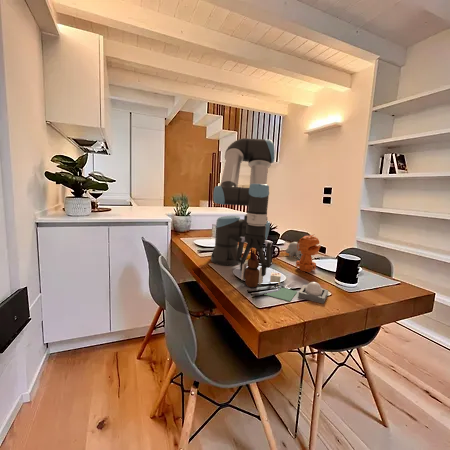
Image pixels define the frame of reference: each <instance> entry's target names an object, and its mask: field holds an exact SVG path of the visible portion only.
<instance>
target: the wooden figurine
mask: <svg viewBox="0 0 450 450" xmlns="http://www.w3.org/2000/svg"><path fill="white" fill-rule="evenodd" d="M257 258H258V257H257V256H256V253H255V250H253V248H251V249H250V257H249V258H248V260H247V261H246V263H247V268H246V271H245V279H244V282H245V285H246V286H247V287H248V288H256V287H258V285H259V284H258V283H259V270H260V269H259V268H260V259H257Z"/></svg>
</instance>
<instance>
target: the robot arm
mask: <svg viewBox="0 0 450 450" xmlns="http://www.w3.org/2000/svg"><path fill="white" fill-rule="evenodd" d="M224 160H225V163H224V167H223V171H222V177H221V179H220V180H221V181H220V184H219V185H215V186H214V189H213V194H212V195H213V197H212V198H213V203H215V204H219V205H224V206H225V205H228V206H243V207H247V212H246V214H245V215H244V217H243V219H242V218H241V217H240V216H239V215H226V216H225V215H224V216H220V217H218V218H217V219H216V224H215V243H214V247H213V251H212V253H211V255H210V261H211V262H212V263H214V264H215V265H220V266H235V265H238V264H239V265H240V266H239V271H240V272H241V275H240V276H241V278H240V279H241V280H240V281H245V271H246V268H247V267H248V266H247V261H246V260H247V258H248V256H249V254H250V253H251V248H252V249H256V251H257V254H258V258H259V263H260V265H261V266H260V267H259V269H258V270H259V283H258V285H262V283H264V277H265V276H266V274H267V269H268V268H270V267H271V266H272V247H273V243H274V242H273V241H271V240H268V236H269V232H270V227H271V221H269V220H268V206H269V196H270V186H269V184H267V183H268V169H269V168H270V167H272V164H273V163H274V162H275V145H274V142H273V140H272V139H266V138H246V137H244V138H239V139H237V140H235V141H233V142H231V144H230V145H229V146H228V147H227V148H226V150H225V153H224ZM242 162H245V163H246V162H248V166H249V167H250V176H249V177H250V178H249V187H240V186H239V180H240V171H241V164H242ZM238 186H239V187H238ZM244 244H246V246H245V250H244ZM263 245H265V253H264V246H263Z"/></svg>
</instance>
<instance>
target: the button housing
mask: <svg viewBox="0 0 450 450" xmlns="http://www.w3.org/2000/svg"><path fill="white" fill-rule="evenodd" d="M306 285H307V284H303V285H302V287H301V288H300V290H299V291H298V295H297V296H298V298H299V299H304V300H307V301H310V302H311V301H312V302H314V303H319V304H322V305H325V303H326V302H325V301H326V299H327V297H328V295H329V293H328V292H329V290H328V289H325V288H322V289H323V290H322V297H321V296H316V295H312V294H308V293H305V288H306Z"/></svg>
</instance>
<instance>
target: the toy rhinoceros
mask: <svg viewBox="0 0 450 450" xmlns="http://www.w3.org/2000/svg"><path fill="white" fill-rule="evenodd" d="M297 243H298V244H299V242H298V241H293V242H292V241H291V242H290V243H289V244H288V246H287V249H286V250H285V253H286V254H288V257H290V258H293V257H297V258H298V259H299V260H300V258H301V256H302V255H303V254H301V251H298V249H299V245H298V249H297Z"/></svg>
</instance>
